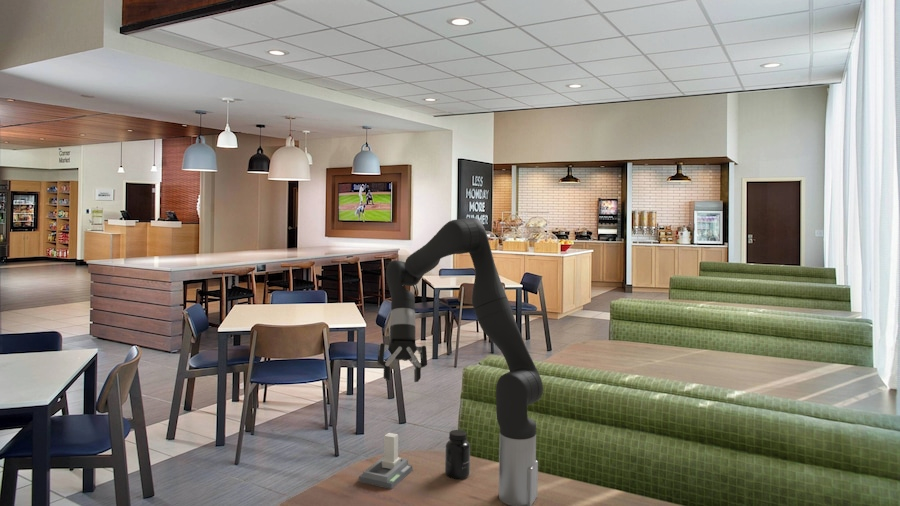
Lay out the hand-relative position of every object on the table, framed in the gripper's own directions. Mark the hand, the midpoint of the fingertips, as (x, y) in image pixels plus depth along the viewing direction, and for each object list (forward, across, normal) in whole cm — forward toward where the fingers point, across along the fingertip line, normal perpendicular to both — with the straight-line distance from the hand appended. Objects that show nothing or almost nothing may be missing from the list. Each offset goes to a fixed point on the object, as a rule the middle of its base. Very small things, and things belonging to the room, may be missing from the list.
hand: (402, 381), depth 175 cm
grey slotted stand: (+25, -3, +4) cm, 26 cm away
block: (+23, -2, +5) cm, 23 cm away
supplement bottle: (+26, +16, -1) cm, 30 cm away
